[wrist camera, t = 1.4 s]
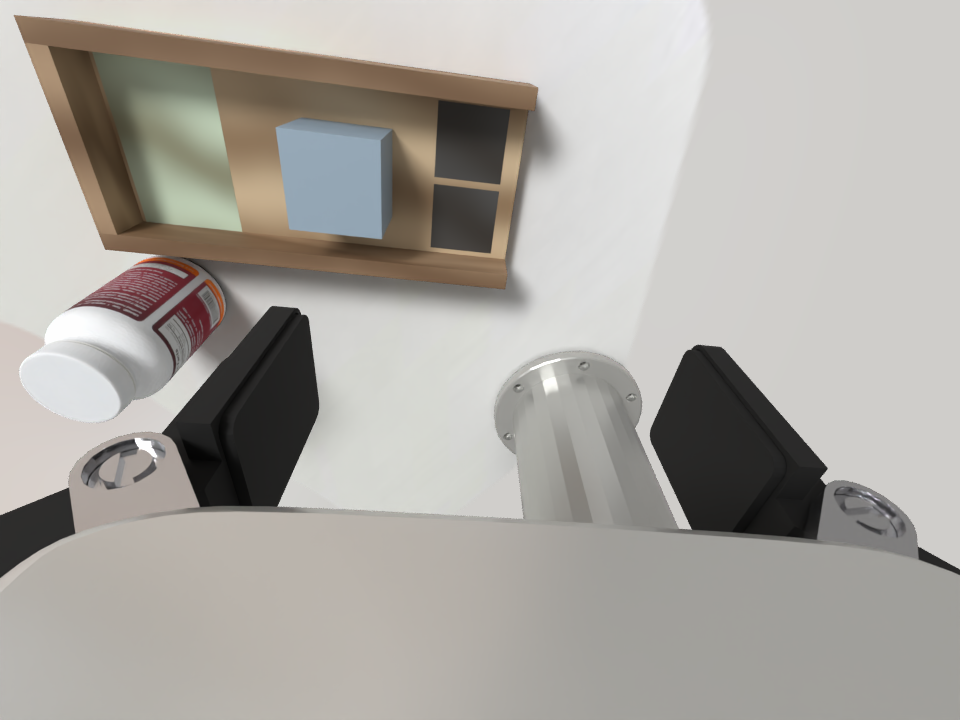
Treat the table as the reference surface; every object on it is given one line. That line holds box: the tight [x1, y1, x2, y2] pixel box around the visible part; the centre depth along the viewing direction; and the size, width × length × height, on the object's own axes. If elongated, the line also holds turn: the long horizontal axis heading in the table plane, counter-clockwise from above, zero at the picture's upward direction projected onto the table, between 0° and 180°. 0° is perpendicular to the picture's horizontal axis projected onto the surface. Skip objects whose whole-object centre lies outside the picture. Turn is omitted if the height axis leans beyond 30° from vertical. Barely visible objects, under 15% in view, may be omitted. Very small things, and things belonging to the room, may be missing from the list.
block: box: [276, 117, 392, 239], centre depth 24 cm, size 5×5×4 cm
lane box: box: [14, 15, 538, 289], centre depth 25 cm, size 11×24×4 cm, turn 83°
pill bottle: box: [19, 255, 226, 423], centre depth 27 cm, size 6×6×11 cm
